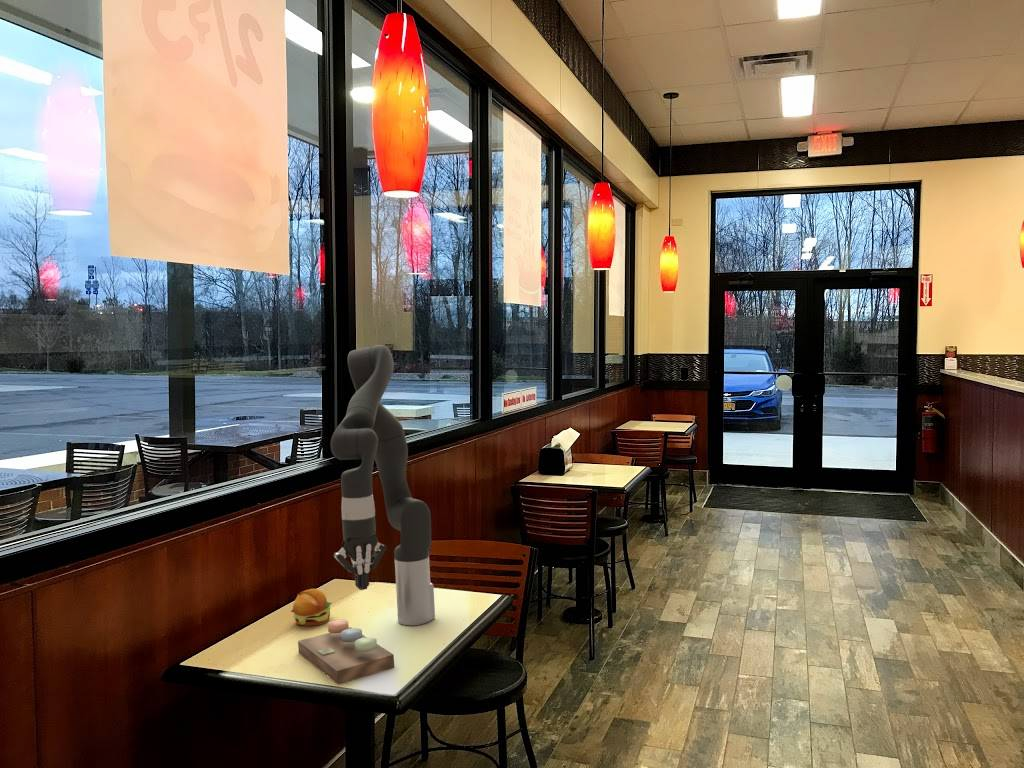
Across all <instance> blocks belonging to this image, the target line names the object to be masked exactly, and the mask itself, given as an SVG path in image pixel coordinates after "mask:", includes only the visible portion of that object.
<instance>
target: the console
mask: <svg viewBox="0 0 1024 768" xmlns="http://www.w3.org/2000/svg"><path fill="white" fill-rule="evenodd" d="M350 628H352V627H350V626H349V629H350ZM365 637H366V636H365V635H364V634H362V638H365ZM297 647H298V648H297V649H298V654H300V656H302V657H303V658H304V659H306V660H307V661H308V662H310V663H311V664H312V665H313V666H314V667H316V668H317V669H318V670H319V669H320V670H319V671H321V673H323V672H324V673H325V674H324V673H323V674H324V675H326V676H327V675H328V676H329V677H330V680H332V681H333V682H334V683H336V684H337V685H340V684H343V683H347V682H349V681H352V680H357V679H359V678H363V677H366V676H369V675H373V674H377V673H379V672H382V671H386V670H387V671H388V670H389V669H392V668H393V669H394V668H395V658H394V657H395V655H394V653H392V652H390V650H387V649H386V648H384V647H383V646H381V645H380V644H378V643H377V648H376V649H375V650H372V651H369V652H358V651H356V650H355V642H343V641H341V633H330V632H327V633H324V634H323V633H322V634H319V635H315V636H312V637H308V638H304V639H300V640H298V641H297ZM328 676H327V677H328ZM329 677H328V678H329Z"/></svg>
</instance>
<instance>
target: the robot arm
mask: <svg viewBox="0 0 1024 768" xmlns="http://www.w3.org/2000/svg"><path fill="white" fill-rule="evenodd" d="M394 363H395V362H394V357H393V355H392V353H391V350H390V348H389V347H387V346H386V345H384V344H377V345H371V346H367V347H362V348H357V349H353V350H351V351H349V353H348V355H347V366H348V372H349V375H350V379H351V381H352V384H353V386H354V387H353V388H354V390H355V393H354V394H353V395H352V397H351V398H350V400H349V402H348V405H347V408H346V412H345V413H346V414H345V416H344V418H343V420H342V421H341V422H340V423H339V424H338V426H337V427H336V429H335V431H334V432H333V433H332V436H331V439H330V450H331V451H330V452H331V453H332V455H333V456H334V457H335V458H336V459H338V460H341V461H345V460H346V461H348V460H361V463H360V465H359V466H358V467H355V468H351V469H347V470H345V471H343V472H342V473H341V476H340V482H341V483H340V484H341V504H340V505H341V506H340V507H341V508H340V509H341V523H342V524H341V525H342V527H341V528H342V537H343V540H342V543H341V548H340V550H338V551H337V552H333V556H332V557H333V558H334V559H335V560H336V561H337V562H338V563H339V564H340V565H341V566H342V567H343V568H344V570H346V571H347V572H348V573H350V574H354V583H355V584H354V585H355V587H356V588H357V589H358V590H359V591H364V590H367V589H368V587H369V586H370V571H372V570H375V569H376V568H377V566H378V565H379V563H380V561H381V560H382V558H383V556H384V554H385V553H386V551H387V549H388V547H387V545H385V544H383V543H381V542H379V538H378V537H377V535H376V534H377V528H376V526H377V525H376V507H375V500H374V493H373V488H374V487H373V468H374V462H375V464H376V468H377V471H378V476H379V478H380V482H381V487H382V491H383V492H382V493H383V500H384V504H385V511H386V516H387V520H388V522H389V524H390V525H391V527H393V528H394V529H395V530H397V531H399V532H400V544H399V545H397V546H396V547H395V548H394V569H395V570H394V571H395V590H396V608H397V611H396V612H397V622H398V624H400V625H404V626H419V625H424V624H427V623H430V622H431V621H432V620H435V619H436V613H435V612H436V610H435V591H434V589H435V588H434V584H433V583H432V582H431V571H430V570H431V569H430V555H429V554H430V548H431V547H432V516H431V515H432V514H431V510H430V507H429V506H428V505H427V503H426V502H424V501H423V500H420V499H416V498H413V496H412V494H411V491H410V488H409V484H408V481H407V466H408V459H409V458H408V457H409V449H408V443H407V439H406V434H405V431H404V428H403V425H402V423H401V421H399V419H398V418H397V417H396V416H395V415H394V414H393V413H391V411H389V410H388V408H386V407H385V406H384V405H383V404H382V403H381V400H382V398H383V395H384V394H385V392H386V390H387V388H388V385H389V383H390V381H391V379H392V377H393V373H394V367H395V365H394ZM347 556H348V557H350V560H351V563H352V564H351V563H350V562H349V561H348V559H346V558H347Z"/></svg>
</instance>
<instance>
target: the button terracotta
mask: <svg viewBox="0 0 1024 768" xmlns="http://www.w3.org/2000/svg"><path fill="white" fill-rule="evenodd" d="M349 627H350V626H349V621H348V620H347V619H336V620H332V621H329V622H328V623H327V633H341V632H342V631H343V630H346V629H349Z"/></svg>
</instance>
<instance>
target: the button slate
mask: <svg viewBox="0 0 1024 768" xmlns="http://www.w3.org/2000/svg"><path fill="white" fill-rule="evenodd" d="M362 635H363V630H362V629H361V628H357V627H351V628H350V629H346V630H343V631H342V632H341V641H343V642H355V641H356V640H358V639H360V638H362Z"/></svg>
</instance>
